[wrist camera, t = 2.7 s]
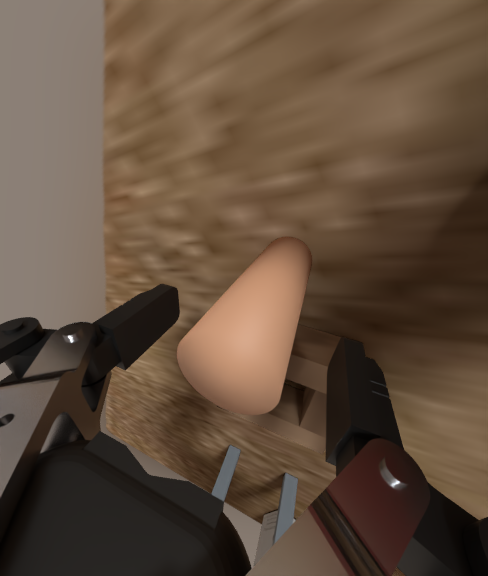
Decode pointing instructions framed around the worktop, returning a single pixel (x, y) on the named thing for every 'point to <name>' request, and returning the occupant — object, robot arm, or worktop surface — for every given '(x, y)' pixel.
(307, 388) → the socket block
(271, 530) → the supplement box
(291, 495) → the grey u-shaped bracket
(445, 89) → the worktop surface
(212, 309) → the peg
